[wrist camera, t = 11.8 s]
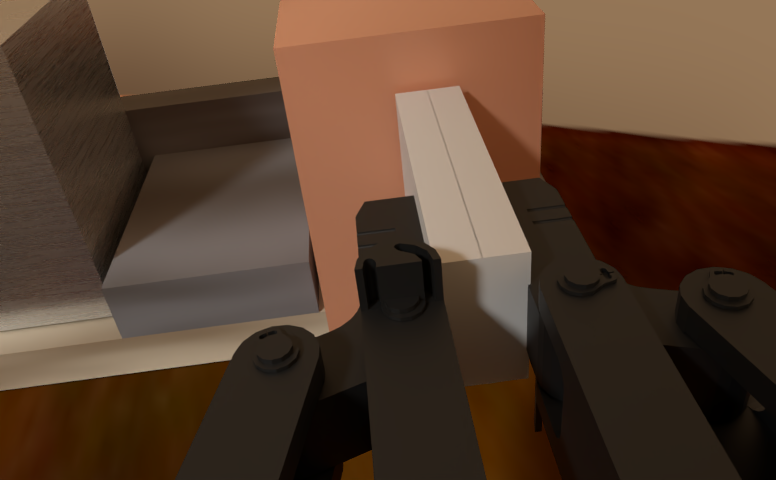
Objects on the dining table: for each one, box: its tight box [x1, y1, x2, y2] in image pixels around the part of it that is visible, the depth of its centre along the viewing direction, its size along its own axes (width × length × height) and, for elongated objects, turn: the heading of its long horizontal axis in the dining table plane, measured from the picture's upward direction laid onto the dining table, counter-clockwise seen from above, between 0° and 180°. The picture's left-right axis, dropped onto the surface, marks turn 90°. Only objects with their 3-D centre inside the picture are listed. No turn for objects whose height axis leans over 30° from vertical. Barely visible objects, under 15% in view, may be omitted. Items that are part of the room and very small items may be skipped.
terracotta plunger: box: [273, 0, 545, 332], centre depth 21 cm, size 7×6×9 cm
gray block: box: [0, 0, 147, 331], centre depth 23 cm, size 7×6×9 cm
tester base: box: [0, 77, 546, 391], centre depth 25 cm, size 10×22×6 cm, turn 95°
